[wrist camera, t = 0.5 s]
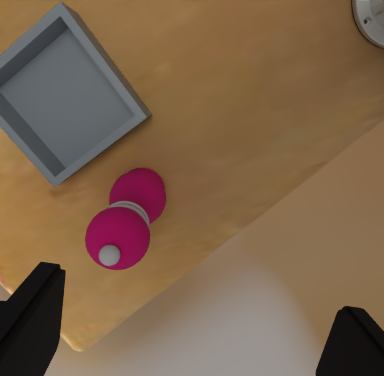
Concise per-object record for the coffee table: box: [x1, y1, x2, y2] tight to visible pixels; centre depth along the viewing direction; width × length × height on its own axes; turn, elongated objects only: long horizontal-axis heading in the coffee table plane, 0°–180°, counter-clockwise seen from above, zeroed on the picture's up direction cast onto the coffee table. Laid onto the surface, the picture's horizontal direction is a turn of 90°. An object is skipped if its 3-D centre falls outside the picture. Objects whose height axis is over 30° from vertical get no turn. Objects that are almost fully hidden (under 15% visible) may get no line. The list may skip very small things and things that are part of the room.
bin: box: [0, 1, 152, 188], centre depth 39 cm, size 15×15×5 cm
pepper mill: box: [85, 168, 166, 270], centre depth 35 cm, size 7×7×20 cm
